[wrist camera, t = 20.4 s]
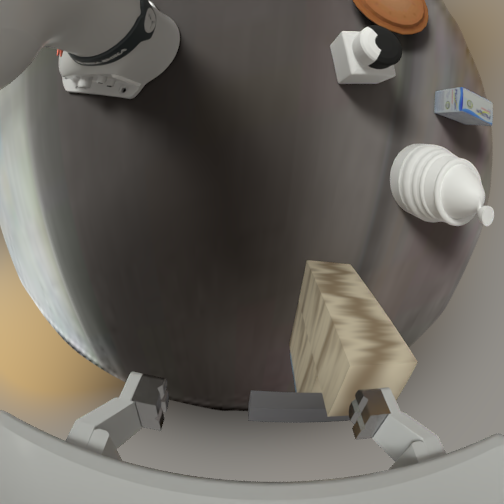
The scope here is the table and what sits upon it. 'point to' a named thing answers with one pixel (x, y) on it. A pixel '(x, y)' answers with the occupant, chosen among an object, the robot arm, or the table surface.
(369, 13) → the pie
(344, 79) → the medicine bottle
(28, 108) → the table surface
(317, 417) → the dark gray bar
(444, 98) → the medicine box
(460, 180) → the honey pot
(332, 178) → the table surface
